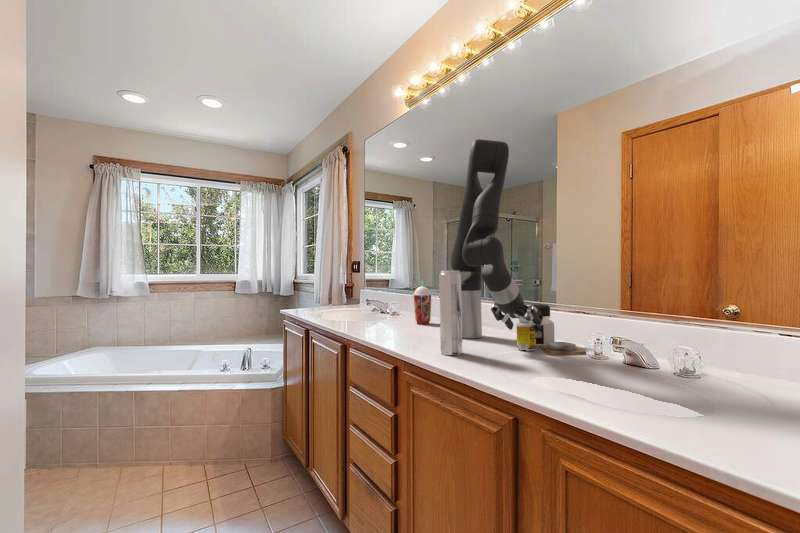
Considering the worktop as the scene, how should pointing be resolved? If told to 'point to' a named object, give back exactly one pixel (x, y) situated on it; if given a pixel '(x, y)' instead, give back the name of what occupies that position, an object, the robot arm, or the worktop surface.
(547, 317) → the container
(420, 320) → the smoothie
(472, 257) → the robot arm
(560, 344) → the hub
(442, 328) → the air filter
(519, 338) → the supplement bottle
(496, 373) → the worktop surface
